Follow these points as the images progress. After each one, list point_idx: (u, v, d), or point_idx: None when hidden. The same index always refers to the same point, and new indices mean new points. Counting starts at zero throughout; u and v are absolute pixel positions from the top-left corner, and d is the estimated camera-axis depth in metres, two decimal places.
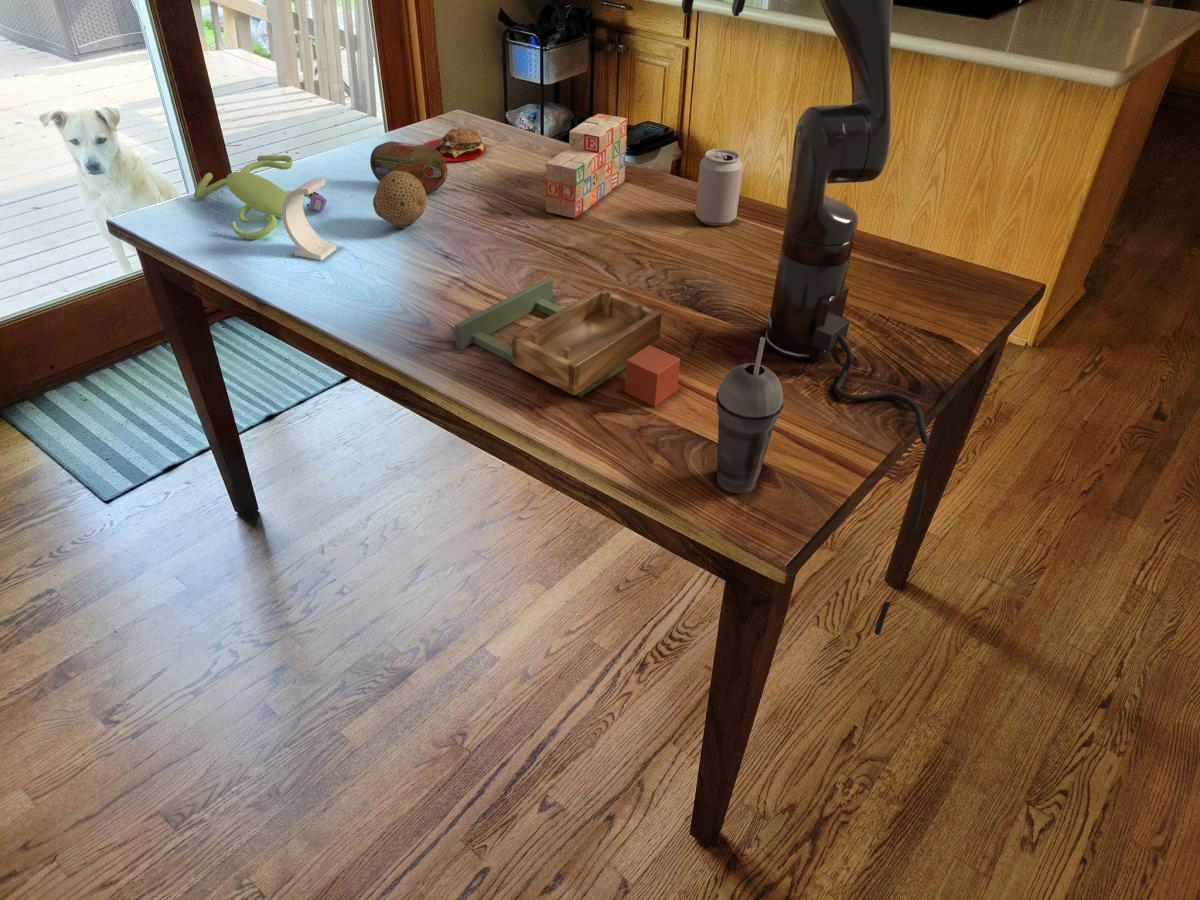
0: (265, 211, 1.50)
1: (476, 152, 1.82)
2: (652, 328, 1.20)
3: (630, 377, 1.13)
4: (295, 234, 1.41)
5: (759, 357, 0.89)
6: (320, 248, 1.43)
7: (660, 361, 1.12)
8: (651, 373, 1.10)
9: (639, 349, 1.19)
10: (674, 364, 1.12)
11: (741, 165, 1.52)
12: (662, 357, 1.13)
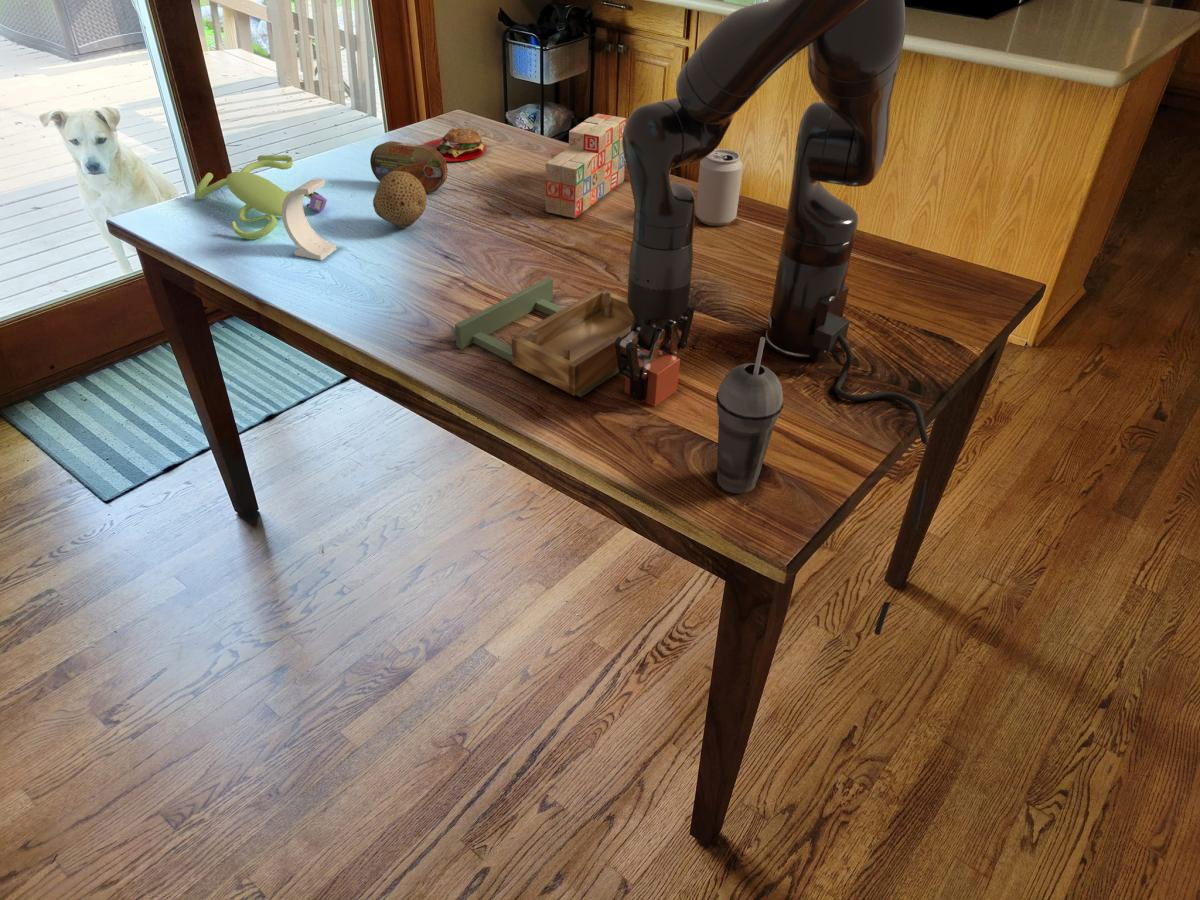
0: (264, 211, 1.50)
1: (476, 152, 1.82)
2: None
3: None
4: (295, 234, 1.41)
5: (759, 357, 0.89)
6: (320, 248, 1.43)
7: (660, 361, 1.12)
8: (651, 373, 1.10)
9: None
10: (674, 364, 1.12)
11: (741, 165, 1.52)
12: (662, 357, 1.13)
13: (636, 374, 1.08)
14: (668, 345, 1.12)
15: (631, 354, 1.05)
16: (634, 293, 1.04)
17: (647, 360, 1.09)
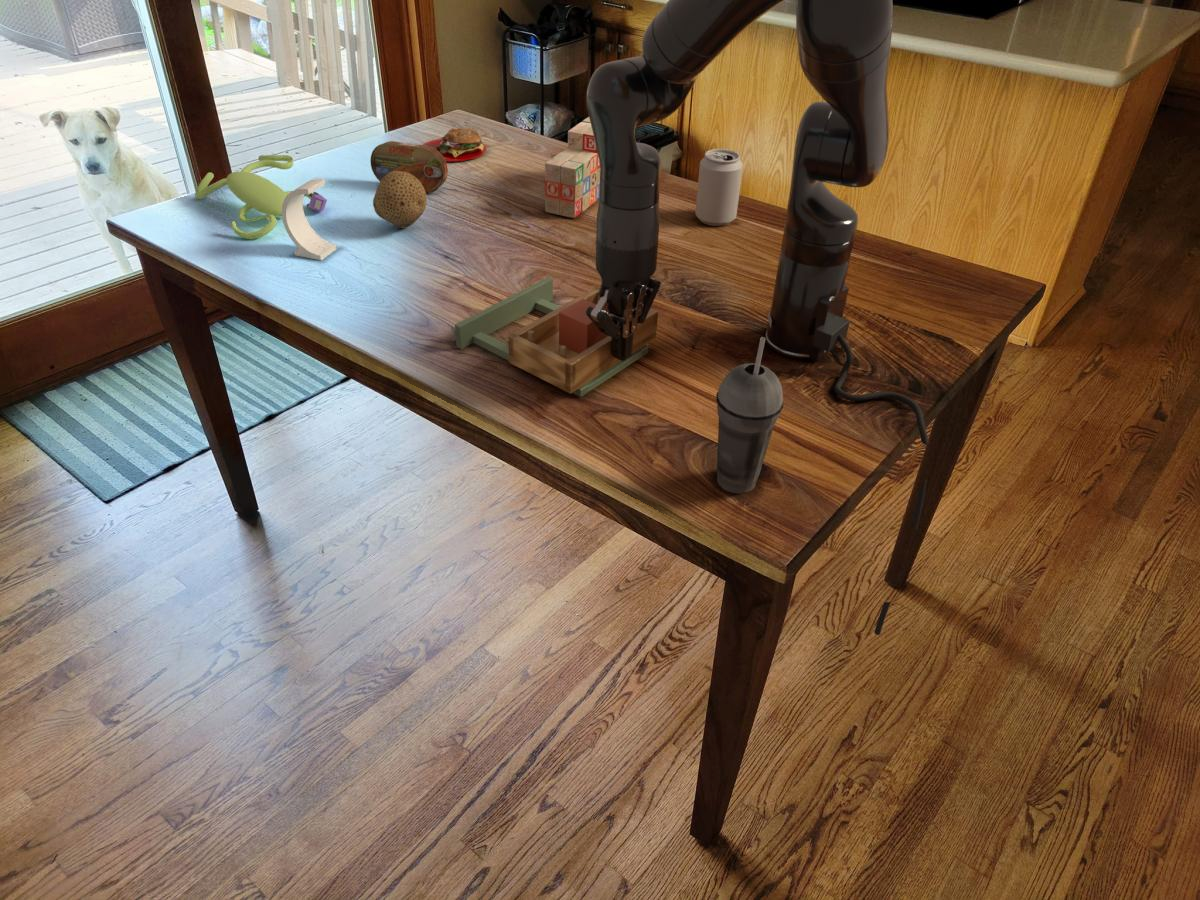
0: (264, 211, 1.50)
1: (476, 152, 1.82)
2: (648, 326, 1.20)
3: (563, 329, 1.17)
4: (295, 234, 1.41)
5: (759, 357, 0.89)
6: (320, 248, 1.43)
7: None
8: (582, 323, 1.14)
9: (635, 347, 1.20)
10: None
11: (741, 165, 1.52)
12: None
13: (616, 333, 1.10)
14: None
15: (604, 323, 1.07)
16: (601, 255, 1.04)
17: (623, 322, 1.10)
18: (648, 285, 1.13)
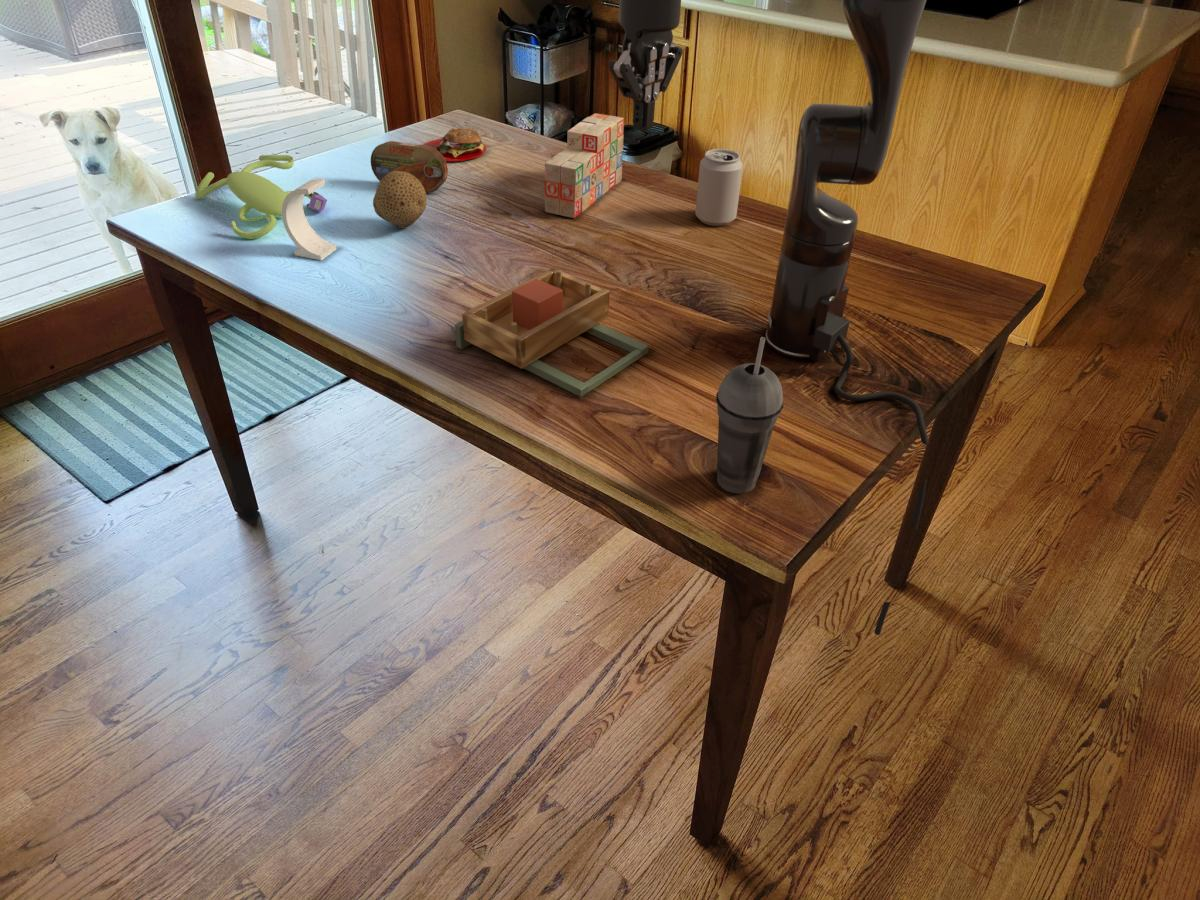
0: (264, 211, 1.50)
1: (476, 152, 1.82)
2: (600, 306, 1.24)
3: (516, 308, 1.21)
4: (295, 234, 1.41)
5: (759, 357, 0.89)
6: (320, 248, 1.43)
7: (543, 292, 1.20)
8: (533, 301, 1.18)
9: (587, 325, 1.24)
10: (556, 295, 1.20)
11: (741, 165, 1.52)
12: (546, 288, 1.21)
13: (638, 94, 1.10)
14: None
15: (627, 76, 1.07)
16: (625, 3, 1.04)
17: (646, 83, 1.10)
18: (670, 51, 1.13)
